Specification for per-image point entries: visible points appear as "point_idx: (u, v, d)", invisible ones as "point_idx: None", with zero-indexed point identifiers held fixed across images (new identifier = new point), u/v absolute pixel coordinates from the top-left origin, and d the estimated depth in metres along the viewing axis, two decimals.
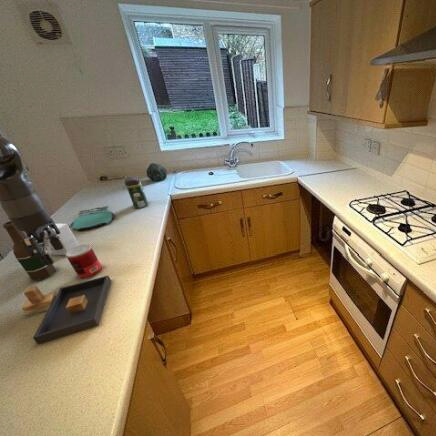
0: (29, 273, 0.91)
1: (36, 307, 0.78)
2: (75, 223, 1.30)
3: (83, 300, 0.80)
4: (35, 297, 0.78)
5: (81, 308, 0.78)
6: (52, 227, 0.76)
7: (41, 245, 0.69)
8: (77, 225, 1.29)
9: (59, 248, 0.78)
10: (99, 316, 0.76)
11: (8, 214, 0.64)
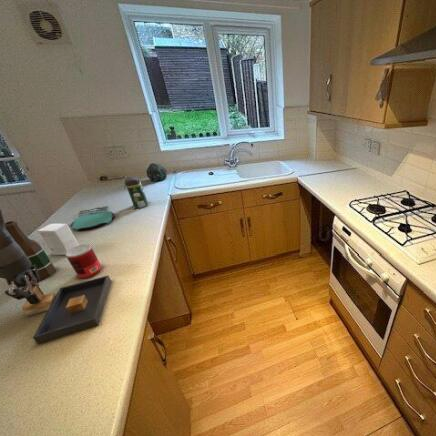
0: None
1: (36, 307, 0.78)
2: (75, 223, 1.30)
3: (83, 300, 0.80)
4: None
5: (81, 308, 0.78)
6: (33, 274, 0.79)
7: (26, 289, 0.74)
8: (77, 225, 1.29)
9: None
10: (99, 316, 0.76)
11: None
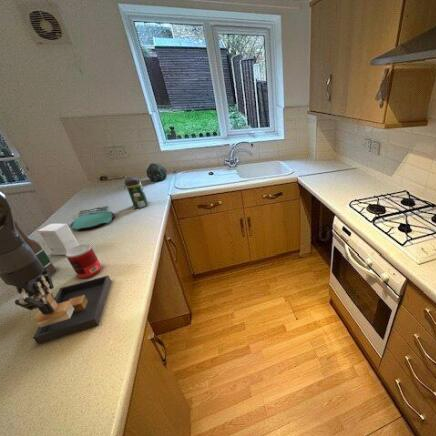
0: None
1: (49, 317, 0.68)
2: (75, 223, 1.30)
3: (83, 300, 0.80)
4: None
5: (81, 308, 0.78)
6: (46, 280, 0.70)
7: (38, 297, 0.65)
8: (77, 225, 1.29)
9: None
10: (99, 316, 0.76)
11: None
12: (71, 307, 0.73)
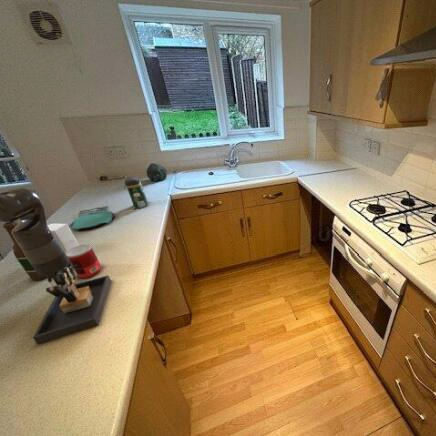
0: (29, 273, 0.91)
1: (72, 304, 0.77)
2: (75, 223, 1.30)
3: None
4: None
5: None
6: (69, 271, 0.79)
7: (64, 286, 0.74)
8: (77, 225, 1.29)
9: None
10: (99, 316, 0.76)
11: (31, 261, 0.67)
12: (91, 296, 0.82)
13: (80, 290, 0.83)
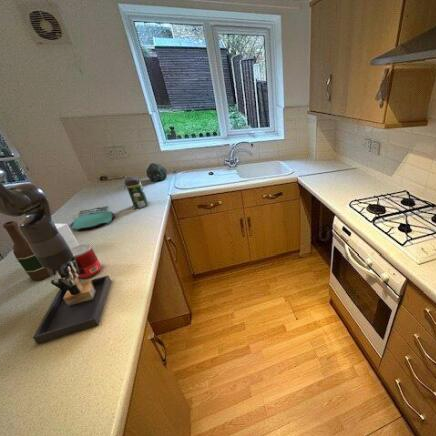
0: (29, 273, 0.91)
1: (76, 297, 0.80)
2: (75, 223, 1.30)
3: None
4: None
5: None
6: (73, 265, 0.81)
7: (68, 279, 0.77)
8: (77, 225, 1.29)
9: None
10: (99, 316, 0.76)
11: (36, 254, 0.70)
12: (93, 290, 0.85)
13: (83, 284, 0.86)
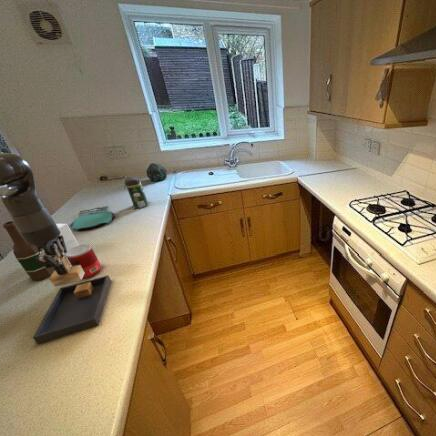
0: (29, 273, 0.91)
1: (63, 278, 0.76)
2: (75, 223, 1.30)
3: (89, 286, 0.85)
4: None
5: (87, 294, 0.84)
6: (60, 244, 0.78)
7: (54, 258, 0.73)
8: (77, 225, 1.29)
9: None
10: (99, 316, 0.76)
11: (20, 229, 0.66)
12: (82, 271, 0.81)
13: (82, 286, 0.85)
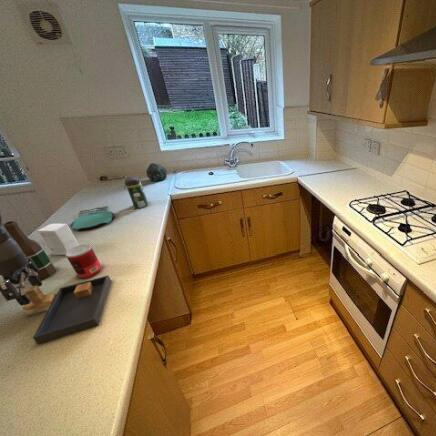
0: None
1: (37, 306, 0.78)
2: (75, 223, 1.30)
3: (89, 286, 0.85)
4: (36, 297, 0.78)
5: (87, 294, 0.84)
6: (31, 266, 0.79)
7: (18, 287, 0.72)
8: (77, 225, 1.29)
9: (37, 285, 0.81)
10: (99, 316, 0.76)
11: None
12: None
13: (82, 286, 0.85)
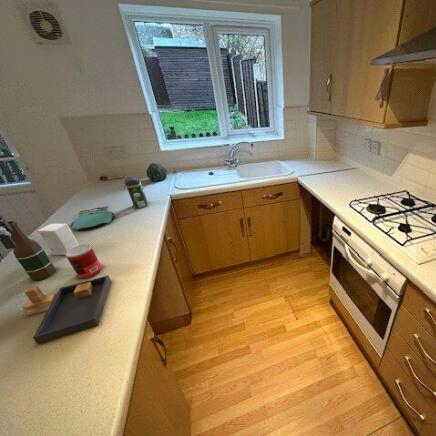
0: (29, 273, 0.91)
1: (37, 306, 0.78)
2: (75, 223, 1.30)
3: (89, 286, 0.85)
4: (36, 297, 0.78)
5: (87, 294, 0.84)
6: (2, 224, 0.72)
7: None
8: (77, 225, 1.29)
9: (11, 247, 0.73)
10: (99, 316, 0.76)
11: None
12: None
13: (82, 286, 0.85)
